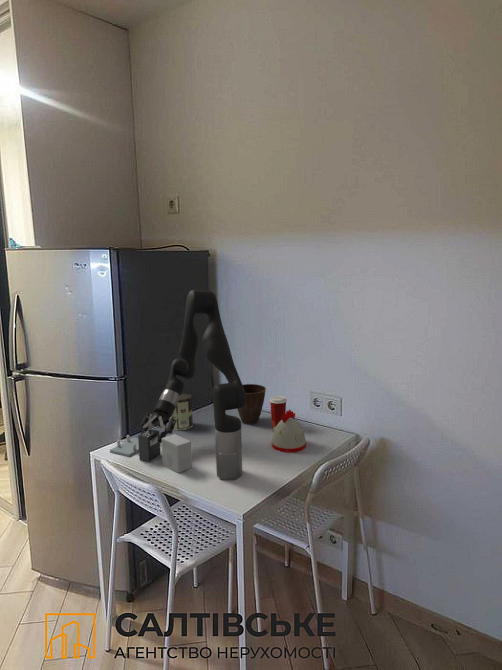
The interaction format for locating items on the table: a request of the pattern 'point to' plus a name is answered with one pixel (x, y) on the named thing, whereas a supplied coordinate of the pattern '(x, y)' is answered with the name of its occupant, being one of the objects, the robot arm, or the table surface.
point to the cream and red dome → (288, 434)
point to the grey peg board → (126, 447)
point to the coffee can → (183, 413)
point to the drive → (149, 445)
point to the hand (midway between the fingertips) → (150, 440)
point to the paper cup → (277, 409)
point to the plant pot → (252, 403)
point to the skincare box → (176, 453)
